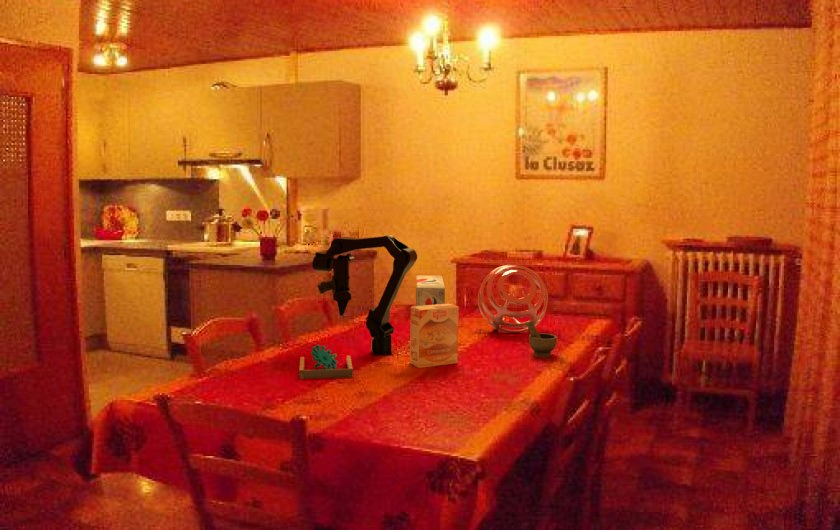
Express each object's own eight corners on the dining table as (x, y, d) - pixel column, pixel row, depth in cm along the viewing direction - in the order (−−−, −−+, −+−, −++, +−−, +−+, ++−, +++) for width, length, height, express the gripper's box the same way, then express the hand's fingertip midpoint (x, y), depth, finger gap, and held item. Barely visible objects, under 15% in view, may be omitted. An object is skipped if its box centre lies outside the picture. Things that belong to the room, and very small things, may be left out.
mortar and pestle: (559, 354, 264) (560, 320, 263) (552, 360, 256) (553, 325, 254) (528, 350, 269) (529, 317, 267) (520, 356, 260) (521, 322, 259)
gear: (322, 369, 235) (308, 344, 239) (311, 380, 237) (297, 355, 241) (345, 367, 244) (331, 342, 248) (335, 377, 246) (321, 353, 250)
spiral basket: (484, 274, 321) (491, 244, 296) (547, 292, 318) (560, 263, 293) (467, 332, 308) (473, 306, 284) (533, 351, 306) (545, 327, 281)
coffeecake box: (418, 368, 244) (419, 309, 241) (409, 363, 250) (409, 306, 247) (458, 363, 250) (459, 306, 248) (448, 358, 257) (448, 302, 254)
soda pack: (445, 318, 324) (445, 287, 323) (415, 318, 324) (415, 287, 322) (442, 302, 365) (442, 274, 363) (415, 301, 365) (416, 273, 363)
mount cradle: (350, 363, 249) (350, 355, 249) (352, 377, 232) (352, 369, 232) (300, 364, 247) (300, 357, 247) (299, 378, 230) (299, 371, 230)
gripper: (318, 269, 274) (318, 310, 276) (318, 276, 256) (318, 321, 258) (348, 268, 276) (348, 310, 278) (351, 276, 257) (351, 320, 259)
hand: (341, 315), depth 268 cm, fingers closed
